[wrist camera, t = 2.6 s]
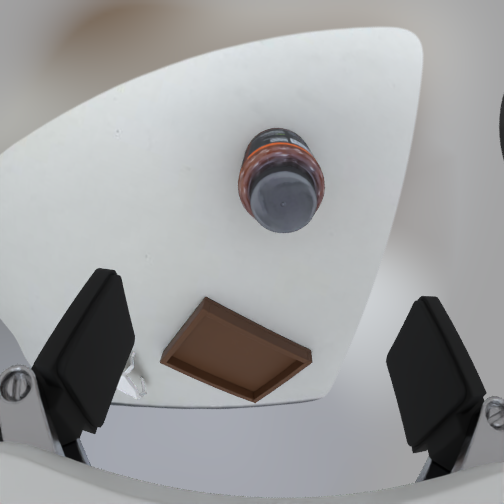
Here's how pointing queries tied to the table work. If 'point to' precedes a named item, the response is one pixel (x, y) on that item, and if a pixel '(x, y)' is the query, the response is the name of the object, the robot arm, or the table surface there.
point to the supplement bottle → (280, 181)
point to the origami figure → (130, 382)
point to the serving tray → (233, 353)
